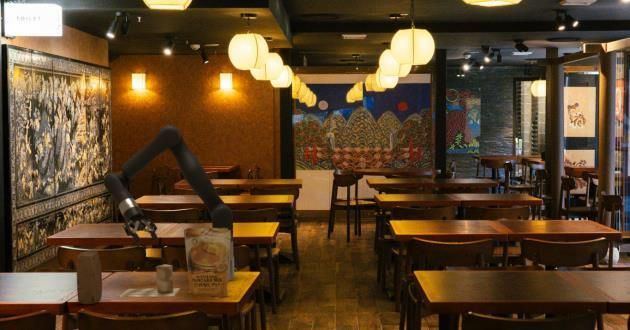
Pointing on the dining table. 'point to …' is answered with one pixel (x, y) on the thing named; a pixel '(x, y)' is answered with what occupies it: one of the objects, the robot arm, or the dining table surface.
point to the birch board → (146, 293)
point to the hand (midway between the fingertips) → (147, 240)
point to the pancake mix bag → (208, 260)
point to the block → (89, 278)
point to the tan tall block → (164, 279)
